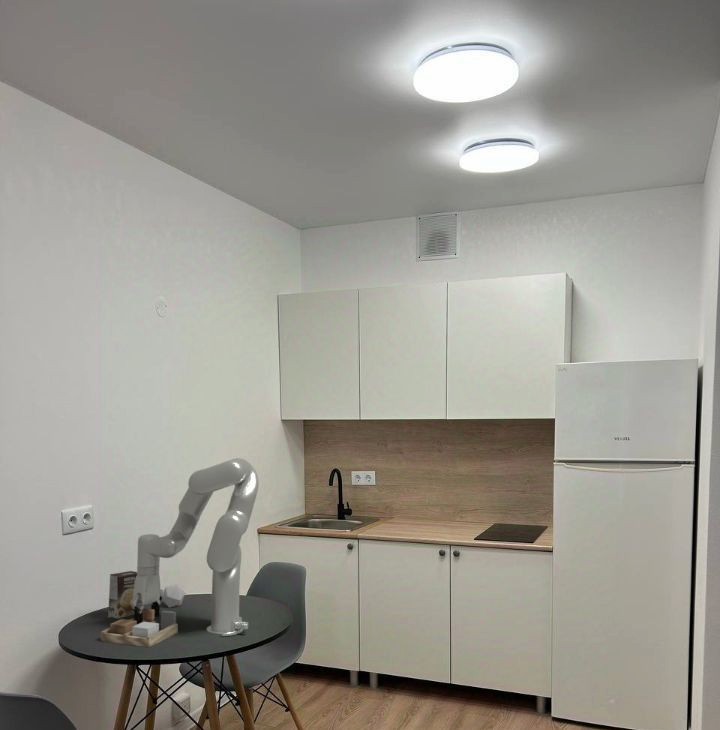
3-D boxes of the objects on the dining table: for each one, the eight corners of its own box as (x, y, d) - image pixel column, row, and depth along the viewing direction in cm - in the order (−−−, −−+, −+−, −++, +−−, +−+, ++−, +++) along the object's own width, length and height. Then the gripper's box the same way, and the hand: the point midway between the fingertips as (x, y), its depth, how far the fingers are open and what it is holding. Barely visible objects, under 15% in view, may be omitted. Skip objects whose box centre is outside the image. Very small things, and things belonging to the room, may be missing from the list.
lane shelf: (188, 629, 244) (189, 618, 244) (148, 650, 222) (149, 637, 223) (143, 624, 250) (144, 613, 250) (100, 644, 229) (100, 631, 229)
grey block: (176, 629, 241) (177, 612, 241) (147, 644, 225) (148, 625, 225) (162, 627, 243) (162, 610, 243) (132, 642, 227) (132, 623, 227)
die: (184, 609, 272) (191, 586, 278) (165, 601, 268) (173, 577, 274) (173, 613, 277) (180, 590, 283) (154, 605, 273) (162, 582, 279)
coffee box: (117, 621, 253) (118, 576, 255) (107, 618, 257) (109, 574, 259) (139, 616, 261) (140, 572, 262) (129, 613, 265) (130, 570, 266)
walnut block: (155, 627, 244) (155, 609, 244) (124, 641, 228) (125, 622, 228) (140, 625, 245) (141, 608, 246) (109, 639, 230) (110, 620, 230)
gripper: (154, 564, 255) (152, 612, 253) (123, 574, 238) (121, 626, 237) (171, 566, 252) (170, 614, 251) (141, 576, 236) (140, 628, 235)
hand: (146, 620), depth 244 cm, fingers open, 9 cm apart
